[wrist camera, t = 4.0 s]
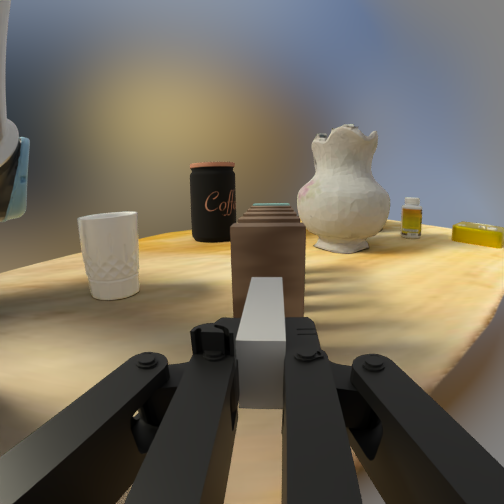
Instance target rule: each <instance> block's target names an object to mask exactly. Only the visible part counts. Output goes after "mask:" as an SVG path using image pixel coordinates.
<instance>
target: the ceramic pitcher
mask: <svg viewBox="0 0 504 504" xmlns="http://www.w3.org/2000/svg"><path fill="white" fill-rule="evenodd" d="M317 135H318V134H317ZM317 135H316V137H315V139H314V141H313V143H312V151H313V154H314V165H315V169H316V174H315V176H314V177H313V178H312V180H310V181H309V182H308V183H307V184H306V185H305V186H304V187H302V188H301V189H300V191H299V193H298V196H297V205H298V213H299V216H300V219H301V221H302V222H303V223H304V225H305V226H306V228H307V230H308V231H310V232H311V233H313V234H316V235H318V236H319V239H318V241H317V243H316V244H315V245H313V246H315V247H319V248H322V249H325V250H328V251H331V252H334V253H354V252H357V251H359V250H362V249H366V248H369V245H368V243H367V241H366V239H367V238H368V237H372V236H375V235H376V234H377V233H378V232H379V231H380V230H381V229H382V228H383V226H384V225H385V223H386V221H387V218H388V215H389V210H390V198H389V195H388V193H387V192H386V191H385V189H383V188H382V187H381V186H380V185H379V184H378V183H377V182H376V181H375V179H374V178H373V176H372V172H371V163H372V158H373V154H374V153H375V151H376V148H377V141H378V135H377V131H374V132H372V133H371V134H370V136H369V137H367V136H365V135H364V134H363V133H362V132H361V131H360V130H358V127H354V125H353V124H349V125H343V126H342V127H338V128H336V129H333V128H332V132H331V134H330V136H329V137H328V138H327V136H326V135H327V134H325V133H324V134H319V135H318V136H317Z"/></svg>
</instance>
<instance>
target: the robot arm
mask: <svg viewBox="0 0 504 504" xmlns="http://www.w3.org/2000/svg"><path fill="white" fill-rule="evenodd" d="M10 3H11V0H0V222H5V221H6V220H9V219H14V218H18V217H20V216H22V215H23V214H24V212H25V210H26V202H27V176H28V159H29V147H30V141H29V139H28V138H24V137H20V138H19V134H18V129H17V127H16V126H15V124H14V123H13V122H12V121H10V120H9V119H7V115H6V94H5V61H6V40H7V27H8V19H9V11H10ZM190 333H191V342H192V351H193V355H192V357H191V359H190V361H189V362H186V363H180V364H171V365H168V361H167V358H166V357H165V356H164V355H162V354H159V353H153V352H144V353H141V354H137V355H135V356H133V357H131V358H130V359H129V360H127V361H126V362H125V363H123V364H122V365H121V366H119V367H118V368H117V369H116V370H114V371H113V372H112V373H110V374H109V375H108V376H106V377H105V378H104V379H103V380H101V381H100V382H99V383H97V384H96V385H95V386H93V387H92V388H91V389H89V390H88V391H87V392H86V393H84V394H83V395H82V396H80V397H79V398H78V399H76V400H75V401H74V402H72V403H71V404H70V405H69V406H67V407H66V408H65V409H63V410H62V411H61V412H59V413H58V414H57V415H55V416H54V417H53V418H51V419H50V420H49V421H47V422H46V423H45V424H44V425H42V426H41V427H40V428H38V429H37V430H36V431H34V432H33V433H32V434H30V435H29V436H28V437H26V438H25V439H24V440H22V441H21V442H20V443H18V444H17V445H16V446H14V447H13V448H12V449H10V450H9V451H8V452H6V453H5V454H4V455H2V456H1V457H0V504H115V503H116V502H117V501H118V500H119V499H120V498H121V497H122V495H123V494H124V493H125V492H126V491H127V490H128V488H129V487H130V486H131V485H132V484H133V485H132V487H131V490H130V492H129V494H128V496H127V498H126V501H125V503H124V504H223V503H224V498H225V492H226V486H227V480H228V475H229V469H230V463H231V457H232V451H233V445H234V439H235V434H236V428H237V422H238V408H237V407H238V401H239V408H251V409H283V414H282V504H362V499H361V494H360V489H359V485H358V480H357V475H356V470H355V466H354V461H353V457H352V452H351V448H352V449H353V451H354V453H355V454H356V456H357V458H358V459H359V461H360V462H361V464H362V466H363V467H364V469H365V471H366V472H367V474H368V476H369V477H370V479H371V480H372V482H373V484H374V485H375V487H376V489H377V490H378V492H379V494H380V495H381V497H382V498H383V500H384V501H385V503H386V504H504V468H503V467H502V466H501V465H500V464H499V463H498V462H497V461H496V460H495V459H494V458H493V457H492V456H491V455H490V454H489V453H488V452H487V451H486V450H485V449H484V448H483V447H482V446H481V445H480V444H479V443H478V442H477V441H476V440H475V439H474V438H473V437H472V436H471V435H470V434H469V433H467V432H466V430H465V429H464V428H462V427H461V426H460V425H459V424H458V423H457V422H456V421H455V420H454V419H453V418H452V417H451V416H450V415H449V414H448V413H447V412H446V411H445V410H444V409H443V408H442V407H440V405H438V404H437V403H436V402H435V401H434V400H433V399H432V398H431V397H430V396H429V395H428V394H427V393H426V392H425V391H424V390H423V389H422V388H421V387H419V386H418V385H417V384H416V383H415V382H414V381H413V380H412V379H411V378H410V377H409V376H408V375H407V374H406V373H405V372H404V371H402V370H401V369H400V368H399V367H398V366H397V365H396V364H395V363H394V362H393V361H392V360H390V359H389V358H387V357H385V356H382V355H379V354H366V355H362V356H359V357H357V358H356V359H354V360H353V364H352V366H347V365H340V364H336V363H333V362H331V361H329V359H328V356H327V354H326V353H325V352H324V351H323V350H321V347H320V343H319V339H318V335H317V331H316V328H315V324H314V322H313V321H312V320H311V319H309V318H308V317H285V315H284V299H283V283H282V277H252V278H251V282H250V286H249V290H248V294H247V298H246V302H245V306H244V310H243V313H242V317H241V318H220V319H219V320H218V321H216V322H215V323H207V324H202V325H199V326H197V327H194V328H193V329H192V330H191V331H190ZM137 410H138V412H139V413H138V414H137V415H136V416H134V417H133V415H134V413H135V412H136V411H137ZM350 446H351V448H350Z"/></svg>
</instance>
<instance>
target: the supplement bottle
mask: <svg viewBox="0 0 504 504" xmlns="http://www.w3.org/2000/svg"><path fill="white" fill-rule="evenodd" d="M405 204H406V205H403V206H402V216H401V236H402V237H404V238H411V239H417V238H420V236H421V223H422V207H421V206H419V198H410V197H406V198H405Z"/></svg>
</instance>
